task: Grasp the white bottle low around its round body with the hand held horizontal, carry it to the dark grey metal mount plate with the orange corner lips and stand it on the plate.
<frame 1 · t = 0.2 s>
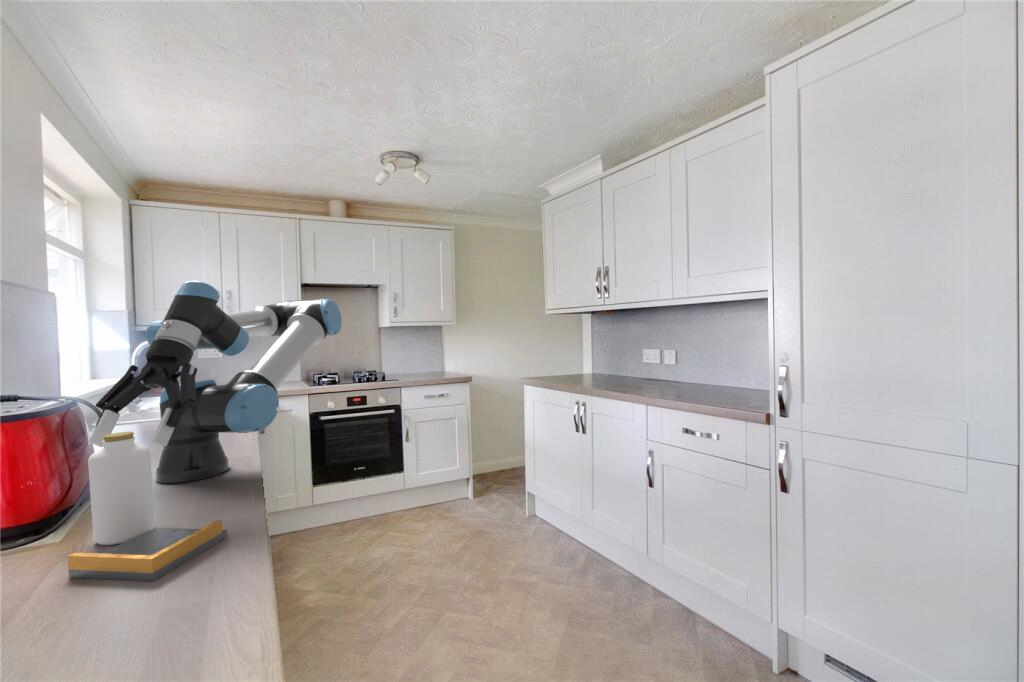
hand: (127, 444, 87), 15 cm above the countertop, tool tilted 35°, fingers open, 13 cm apart
mount plate: (154, 555, 74), on the countertop
white bottle: (125, 537, 82), on the countertop
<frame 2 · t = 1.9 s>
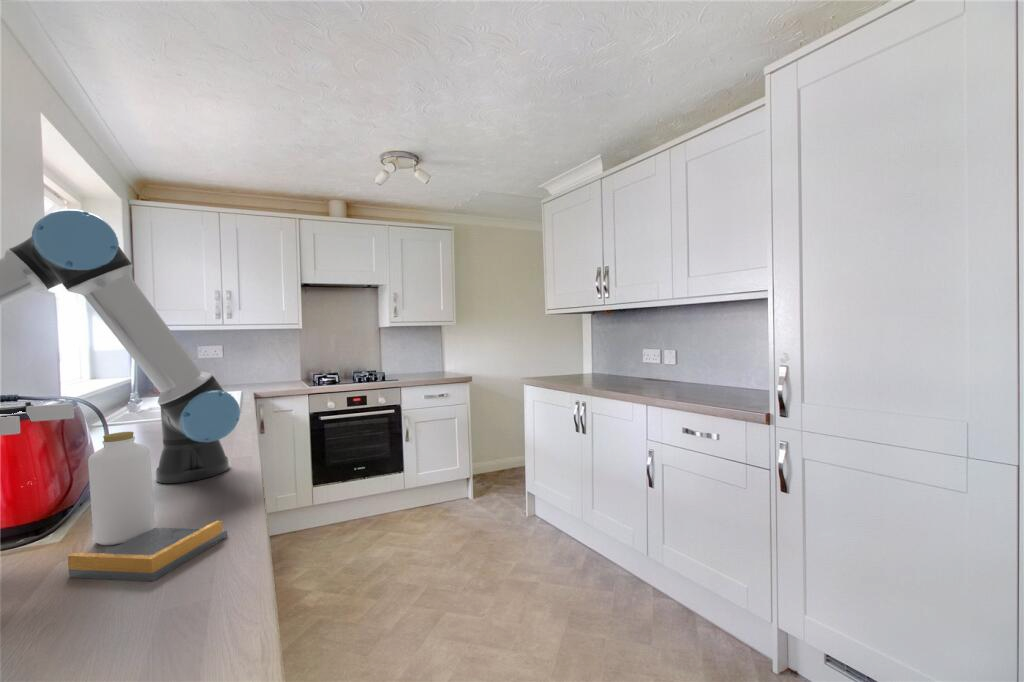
hand: (48, 417, 78), 22 cm above the countertop, tool horizontal, fingers open, 13 cm apart
nothing on the countertop moved.
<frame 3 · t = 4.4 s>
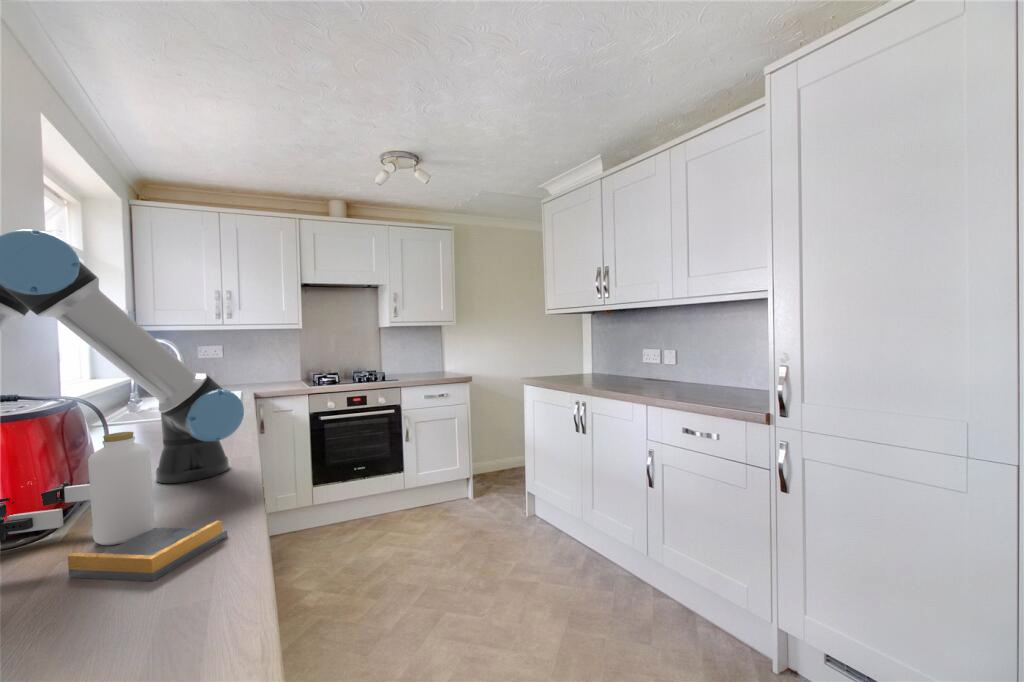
hand: (87, 502, 80), 7 cm above the countertop, tool horizontal, fingers open, 13 cm apart
nothing on the countertop moved.
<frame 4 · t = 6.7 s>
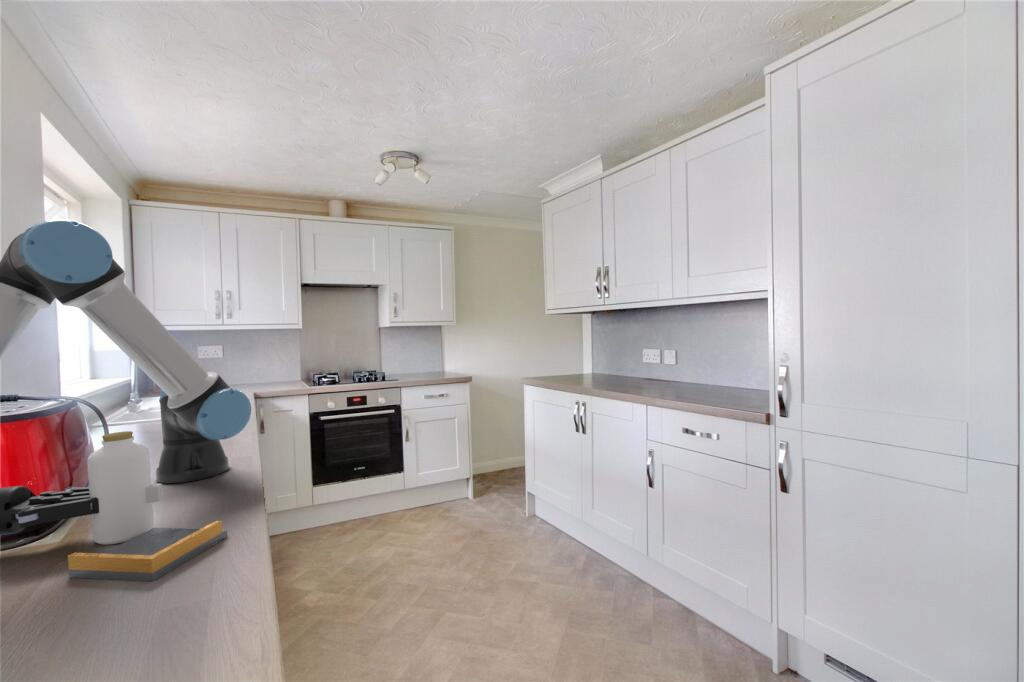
hand: (160, 492, 83), 7 cm above the countertop, tool horizontal, fingers closed
white bottle: (124, 537, 82), on the countertop, touching hand
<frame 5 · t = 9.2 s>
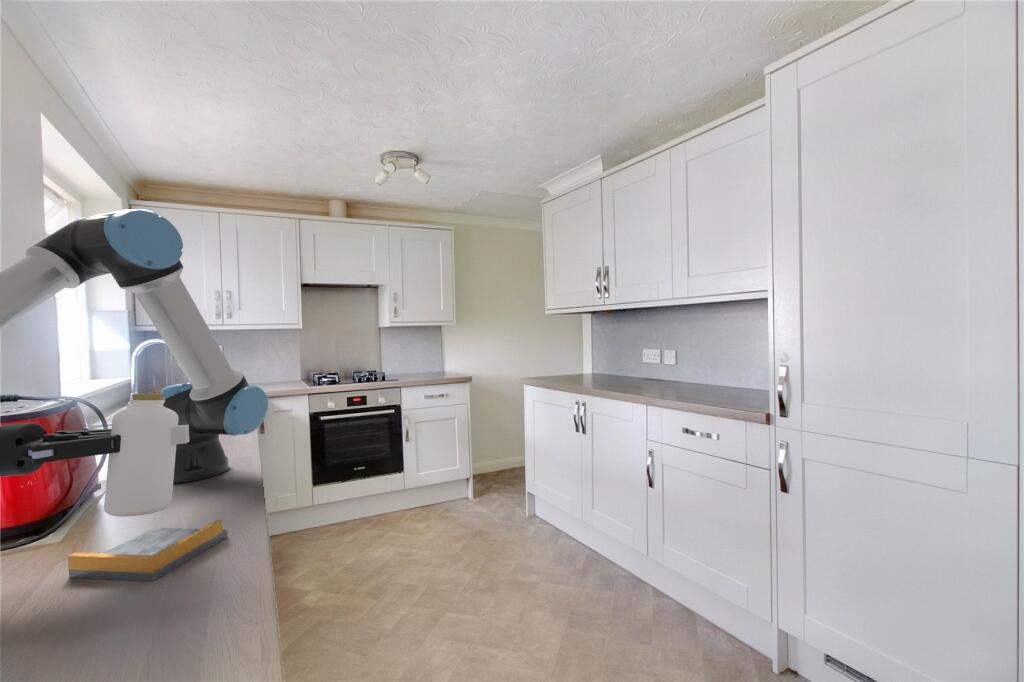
hand: (187, 434, 75), 19 cm above the countertop, tool horizontal, fingers closed
white bottle: (138, 512, 73), point 7 cm above the countertop, touching gripper, hand
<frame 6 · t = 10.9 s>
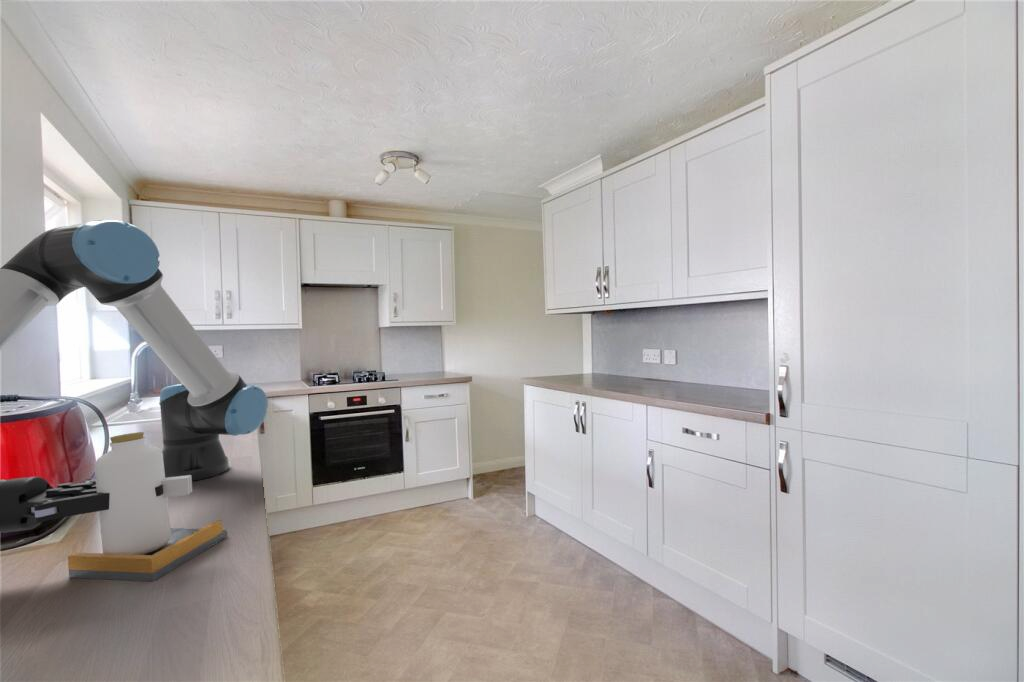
hand: (189, 484, 75), 11 cm above the countertop, tool horizontal, fingers closed
white bottle: (139, 551, 73), point 1 cm above the countertop, touching mount plate
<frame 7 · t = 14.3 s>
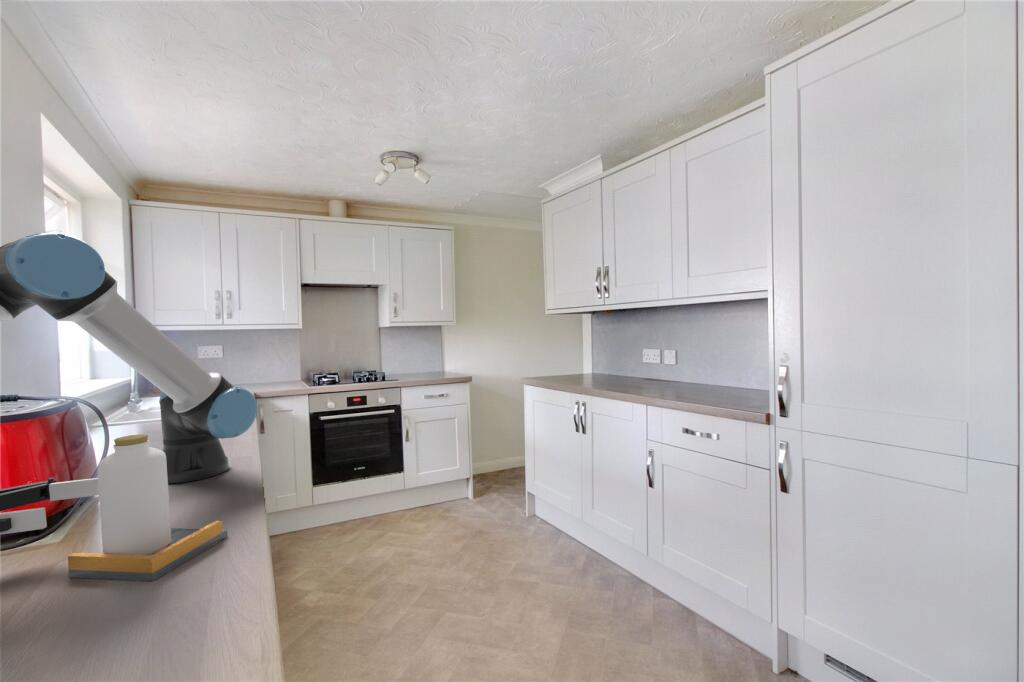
hand: (74, 500, 71), 10 cm above the countertop, tool horizontal, fingers open, 13 cm apart
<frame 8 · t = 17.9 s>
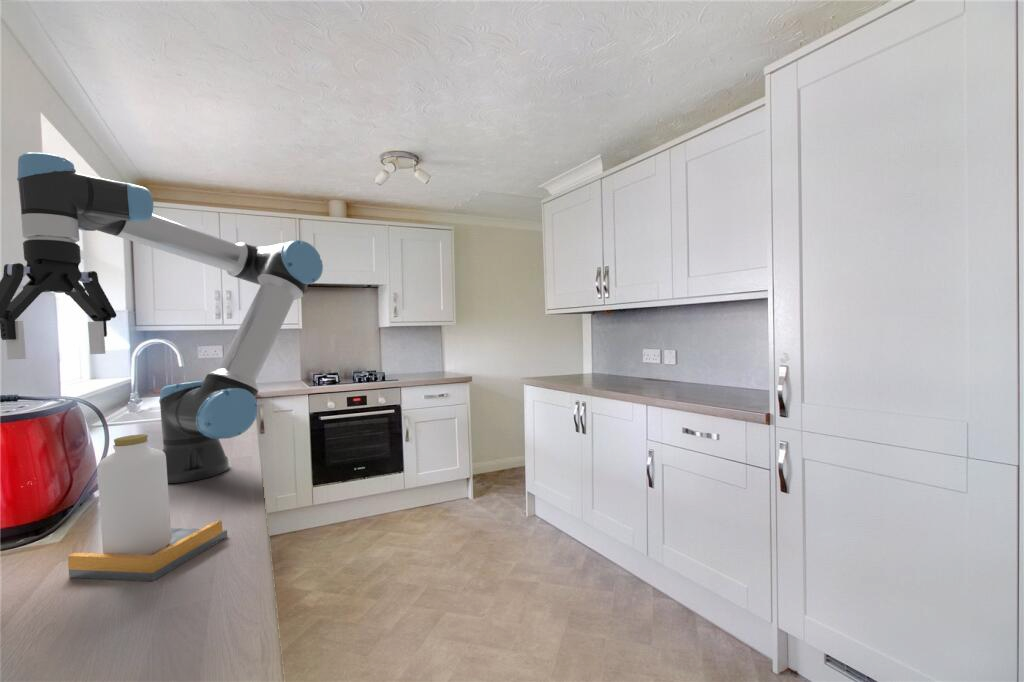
hand: (60, 356, 87), 32 cm above the countertop, tool pointing down, fingers open, 13 cm apart
nothing on the countertop moved.
at the end: white bottle touching mount plate; the gripper is holding nothing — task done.
